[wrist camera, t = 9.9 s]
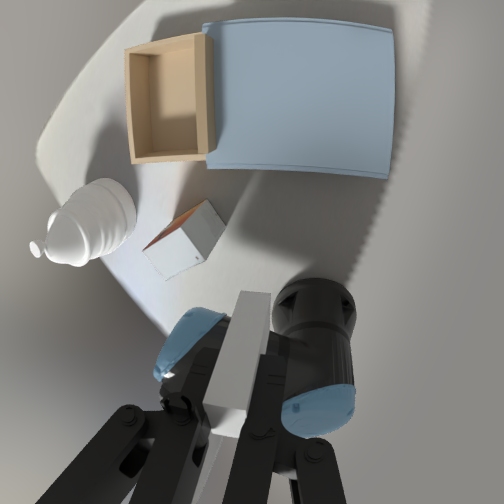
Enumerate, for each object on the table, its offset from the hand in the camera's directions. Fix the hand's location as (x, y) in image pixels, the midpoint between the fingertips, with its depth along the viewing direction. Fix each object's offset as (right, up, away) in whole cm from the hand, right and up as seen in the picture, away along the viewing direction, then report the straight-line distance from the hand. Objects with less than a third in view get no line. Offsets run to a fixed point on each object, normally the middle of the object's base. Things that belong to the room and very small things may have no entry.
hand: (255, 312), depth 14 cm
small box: (-9, +8, +31) cm, 33 cm away
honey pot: (-27, +11, +33) cm, 43 cm away
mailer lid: (+5, +22, +15) cm, 27 cm away
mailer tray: (-5, +25, +20) cm, 32 cm away
